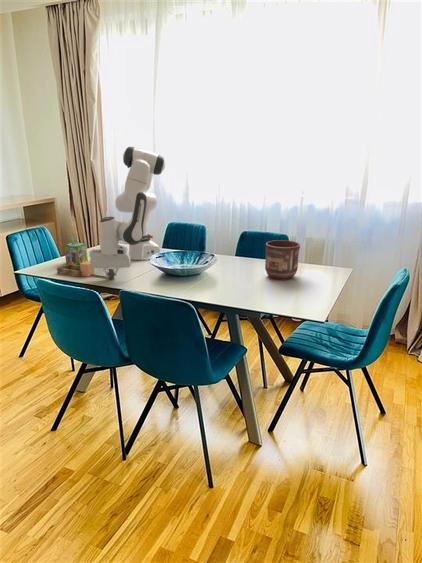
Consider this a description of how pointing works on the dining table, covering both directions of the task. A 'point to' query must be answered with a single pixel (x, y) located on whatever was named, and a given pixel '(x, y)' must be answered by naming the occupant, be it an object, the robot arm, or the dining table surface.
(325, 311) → the dining table surface
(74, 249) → the chalk box
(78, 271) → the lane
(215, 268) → the dining table surface
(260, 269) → the dining table surface
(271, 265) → the pottery
